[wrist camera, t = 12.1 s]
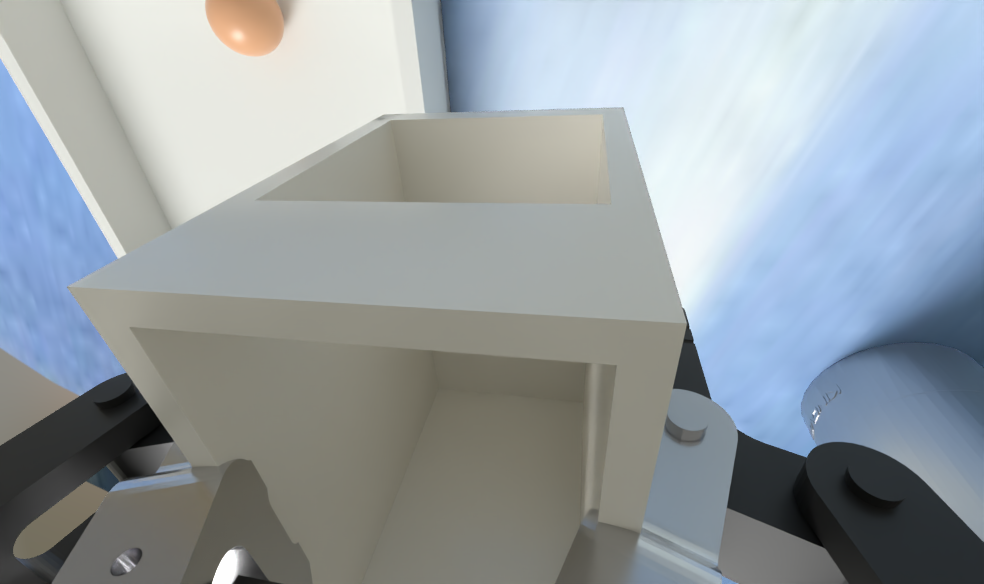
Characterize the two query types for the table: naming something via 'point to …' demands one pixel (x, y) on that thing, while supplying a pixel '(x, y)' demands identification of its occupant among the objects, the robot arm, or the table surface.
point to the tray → (208, 95)
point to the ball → (246, 24)
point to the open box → (419, 341)
